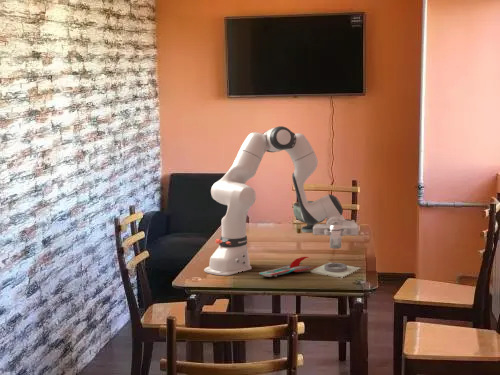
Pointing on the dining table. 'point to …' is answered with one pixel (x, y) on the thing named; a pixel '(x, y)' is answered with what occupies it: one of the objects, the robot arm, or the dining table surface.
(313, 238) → the dining table surface
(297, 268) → the toy spaceship
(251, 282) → the dining table surface
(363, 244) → the dining table surface
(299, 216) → the bowl
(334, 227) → the piston
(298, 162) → the robot arm
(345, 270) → the ring plate
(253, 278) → the dining table surface
